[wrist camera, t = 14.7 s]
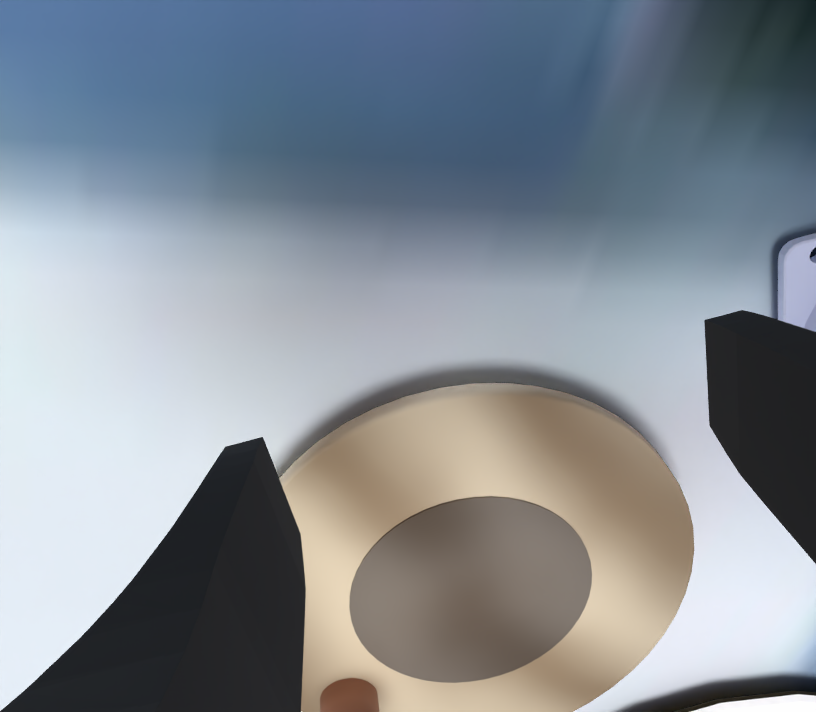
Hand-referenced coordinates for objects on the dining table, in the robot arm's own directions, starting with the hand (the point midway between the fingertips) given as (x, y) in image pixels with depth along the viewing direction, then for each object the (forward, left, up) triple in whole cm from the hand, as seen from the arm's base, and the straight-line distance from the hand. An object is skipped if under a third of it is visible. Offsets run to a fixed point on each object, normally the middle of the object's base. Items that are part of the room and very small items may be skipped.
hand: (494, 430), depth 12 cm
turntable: (+1, +12, -10) cm, 16 cm away
